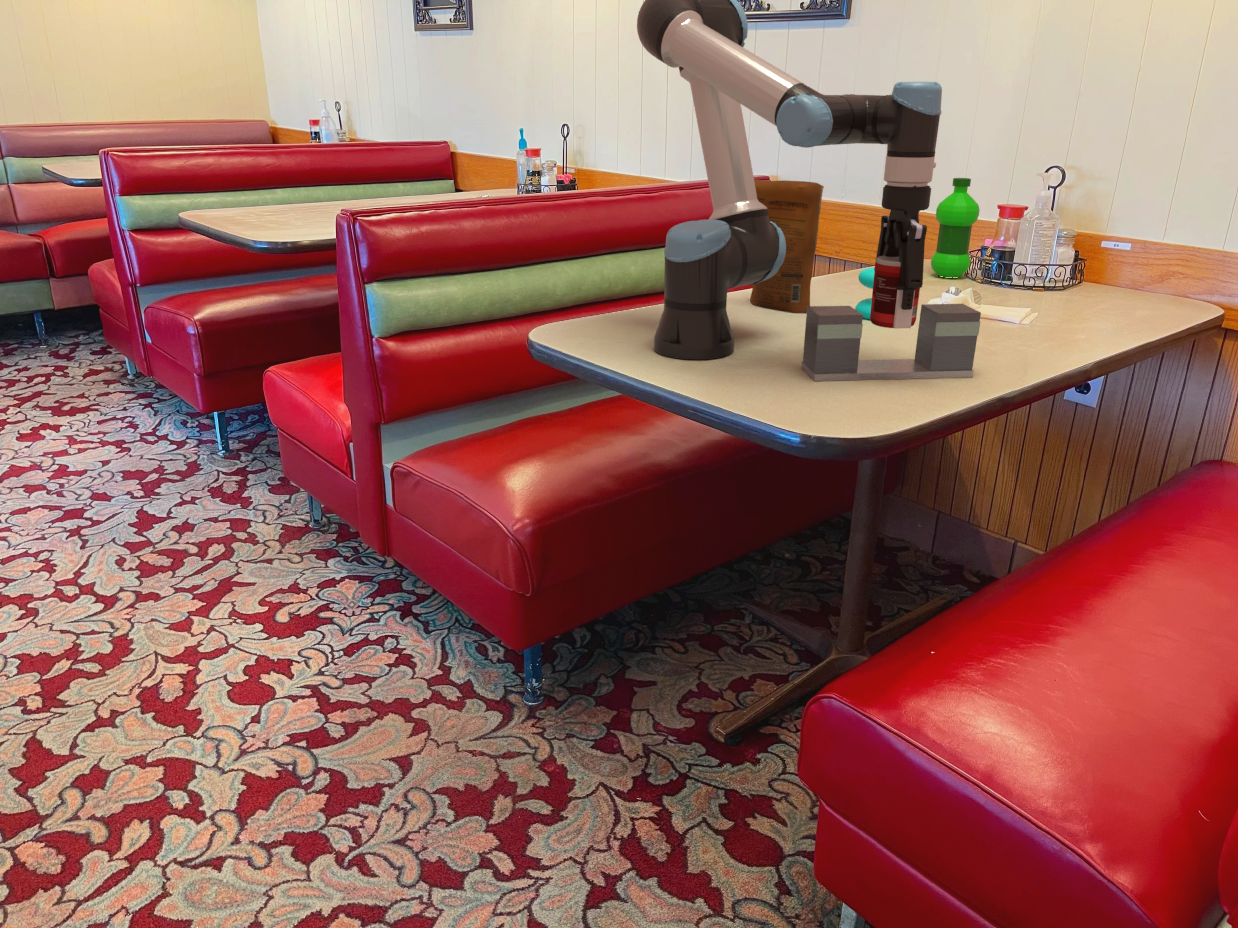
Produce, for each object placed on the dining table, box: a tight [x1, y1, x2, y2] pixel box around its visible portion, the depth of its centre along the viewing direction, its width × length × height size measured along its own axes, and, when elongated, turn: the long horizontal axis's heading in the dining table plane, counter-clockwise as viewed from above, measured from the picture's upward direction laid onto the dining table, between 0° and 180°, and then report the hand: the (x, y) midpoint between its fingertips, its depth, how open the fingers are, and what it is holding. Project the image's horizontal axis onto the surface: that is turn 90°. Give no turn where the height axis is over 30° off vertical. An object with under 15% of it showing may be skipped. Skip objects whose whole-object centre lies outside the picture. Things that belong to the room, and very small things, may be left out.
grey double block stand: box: [801, 303, 982, 382], centre depth 160 cm, size 28×8×11 cm, turn 96°
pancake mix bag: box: [749, 179, 824, 314], centre depth 205 cm, size 7×19×28 cm, turn 46°
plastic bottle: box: [930, 177, 980, 278], centre depth 241 cm, size 10×10×25 cm
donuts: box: [854, 267, 875, 321], centre depth 201 cm, size 10×10×10 cm
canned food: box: [870, 255, 921, 329], centre depth 157 cm, size 8×8×11 cm
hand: (892, 321), depth 159 cm, fingers closed on canned food, 8 cm apart
